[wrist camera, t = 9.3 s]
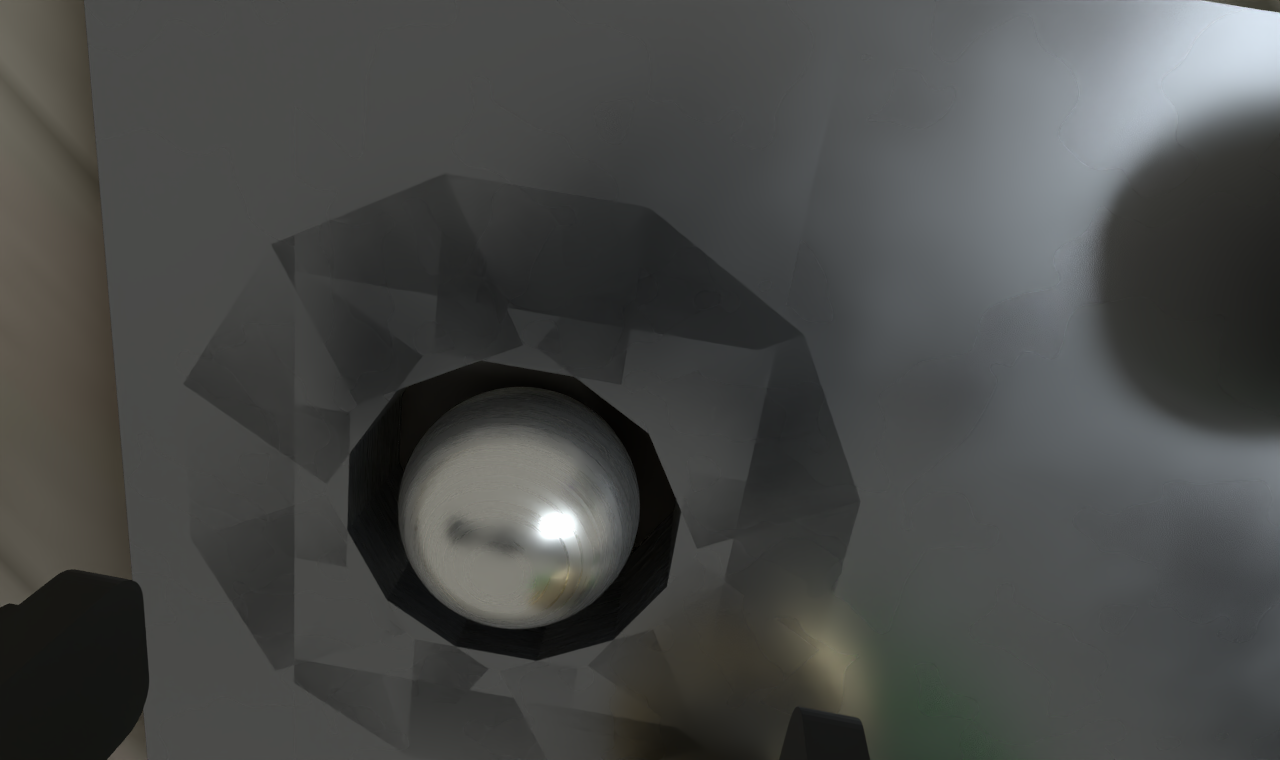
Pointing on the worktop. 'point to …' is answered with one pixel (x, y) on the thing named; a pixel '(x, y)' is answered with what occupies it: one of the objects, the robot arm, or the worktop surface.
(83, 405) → the worktop surface
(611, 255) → the plate
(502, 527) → the steel ball
